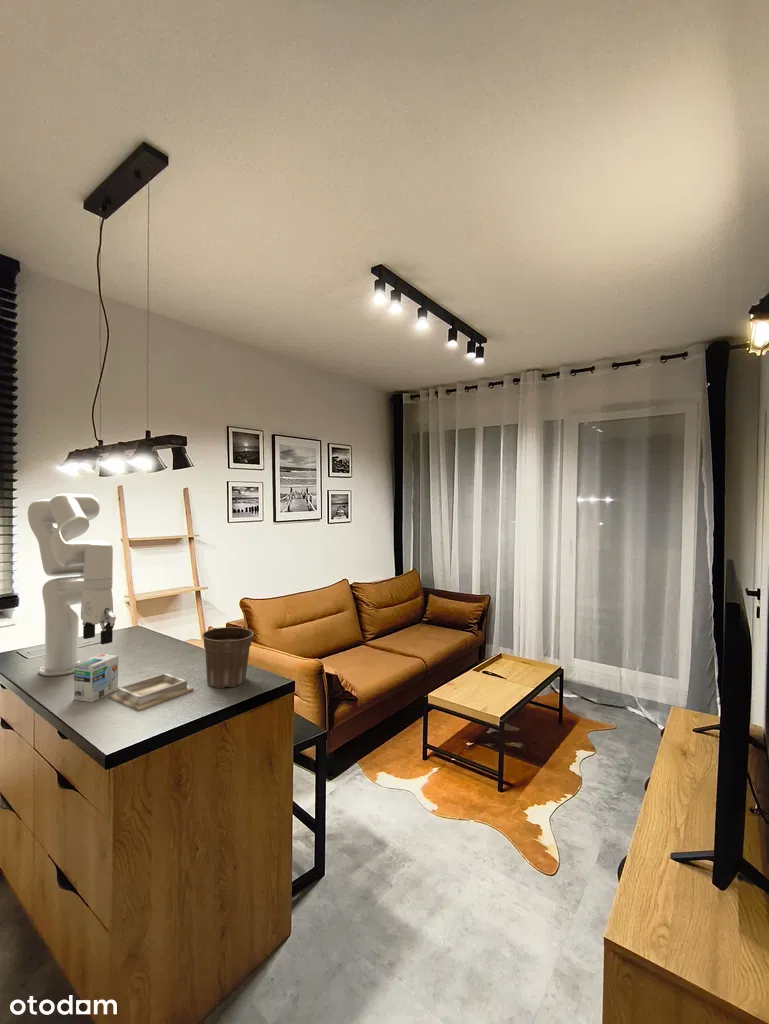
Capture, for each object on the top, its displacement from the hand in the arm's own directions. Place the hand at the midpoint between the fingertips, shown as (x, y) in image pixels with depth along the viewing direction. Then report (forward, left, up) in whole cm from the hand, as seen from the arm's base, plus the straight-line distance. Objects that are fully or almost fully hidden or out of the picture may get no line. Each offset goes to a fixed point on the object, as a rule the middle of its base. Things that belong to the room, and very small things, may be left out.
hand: (97, 640), depth 147 cm
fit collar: (+13, +10, -17) cm, 23 cm away
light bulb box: (0, 0, -17) cm, 17 cm away
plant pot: (+23, +30, -17) cm, 41 cm away
